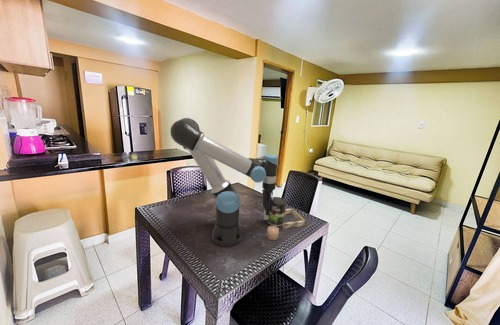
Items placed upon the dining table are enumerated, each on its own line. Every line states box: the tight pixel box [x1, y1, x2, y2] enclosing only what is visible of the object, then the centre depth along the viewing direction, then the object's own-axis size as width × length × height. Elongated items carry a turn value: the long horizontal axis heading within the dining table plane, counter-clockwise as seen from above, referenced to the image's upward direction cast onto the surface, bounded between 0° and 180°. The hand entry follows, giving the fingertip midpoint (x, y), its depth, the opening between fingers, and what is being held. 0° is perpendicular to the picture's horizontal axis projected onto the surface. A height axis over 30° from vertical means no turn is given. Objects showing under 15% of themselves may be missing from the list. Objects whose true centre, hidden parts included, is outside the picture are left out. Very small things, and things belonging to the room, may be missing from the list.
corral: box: [281, 208, 307, 230], centre depth 130 cm, size 15×16×3 cm
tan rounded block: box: [266, 225, 280, 241], centre depth 111 cm, size 6×6×5 cm
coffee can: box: [266, 196, 287, 227], centre depth 125 cm, size 10×10×14 cm
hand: (266, 218), depth 124 cm, fingers closed
